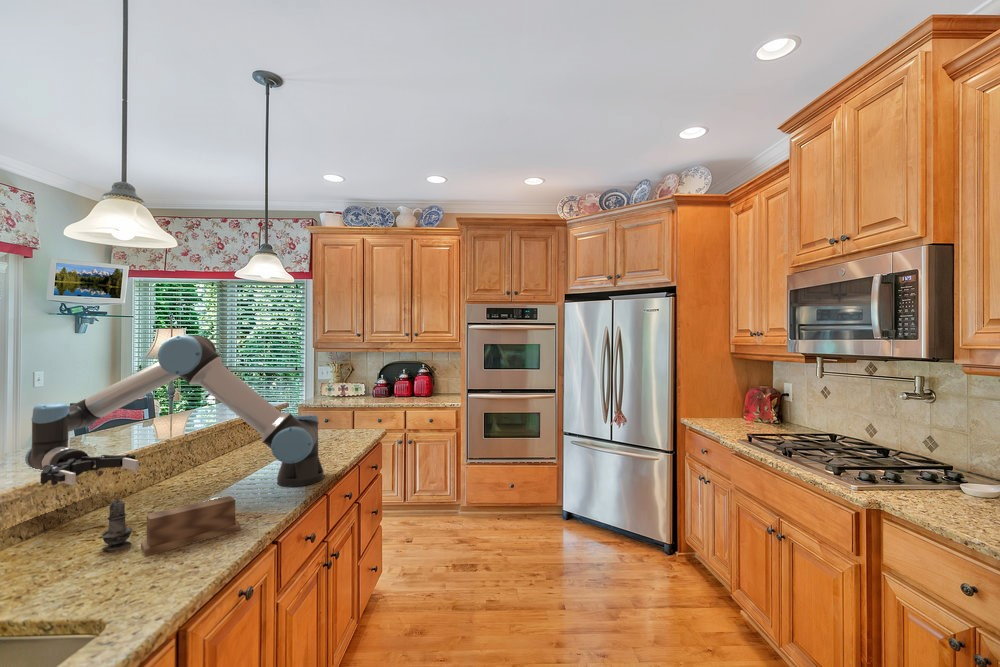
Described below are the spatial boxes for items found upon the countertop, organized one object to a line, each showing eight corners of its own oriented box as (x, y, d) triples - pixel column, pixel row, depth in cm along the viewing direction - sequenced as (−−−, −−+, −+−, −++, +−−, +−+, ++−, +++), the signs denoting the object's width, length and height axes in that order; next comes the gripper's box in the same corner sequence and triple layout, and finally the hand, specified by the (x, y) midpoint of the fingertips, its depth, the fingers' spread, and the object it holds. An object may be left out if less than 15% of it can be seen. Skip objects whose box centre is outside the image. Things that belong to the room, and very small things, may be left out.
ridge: (233, 523, 125) (233, 494, 125) (240, 530, 120) (240, 499, 120) (141, 547, 111) (141, 514, 111) (144, 556, 106) (144, 521, 106)
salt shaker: (138, 543, 113) (138, 494, 113) (111, 554, 108) (111, 502, 108) (122, 540, 115) (122, 492, 115) (95, 550, 109) (95, 499, 110)
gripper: (119, 465, 139) (159, 474, 130) (3, 488, 117) (42, 501, 108) (119, 440, 139) (160, 447, 130) (4, 459, 117) (43, 469, 108)
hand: (107, 472), depth 119 cm, fingers open, 13 cm apart
